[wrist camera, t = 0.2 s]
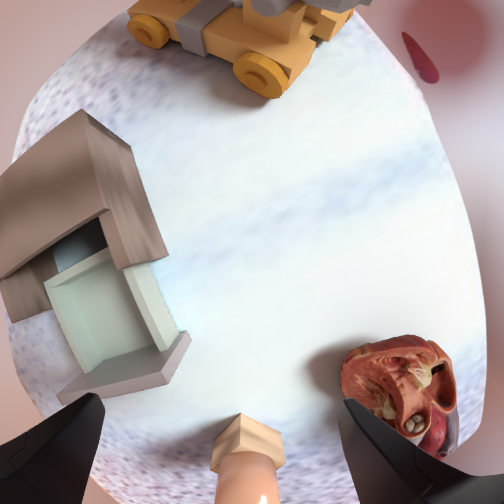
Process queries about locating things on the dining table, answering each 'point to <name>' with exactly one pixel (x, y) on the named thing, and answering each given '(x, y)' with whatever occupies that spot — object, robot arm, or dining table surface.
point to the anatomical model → (407, 390)
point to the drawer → (115, 328)
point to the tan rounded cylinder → (247, 479)
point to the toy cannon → (245, 33)
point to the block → (248, 441)
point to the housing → (70, 208)
